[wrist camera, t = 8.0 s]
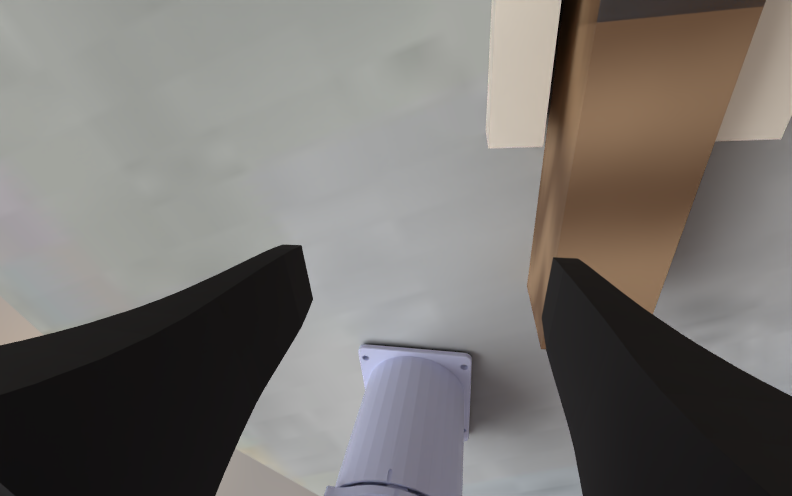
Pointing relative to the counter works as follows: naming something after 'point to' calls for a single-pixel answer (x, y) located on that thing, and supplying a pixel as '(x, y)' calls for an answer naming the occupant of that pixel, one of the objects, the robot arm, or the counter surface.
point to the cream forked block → (534, 56)
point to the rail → (632, 134)
